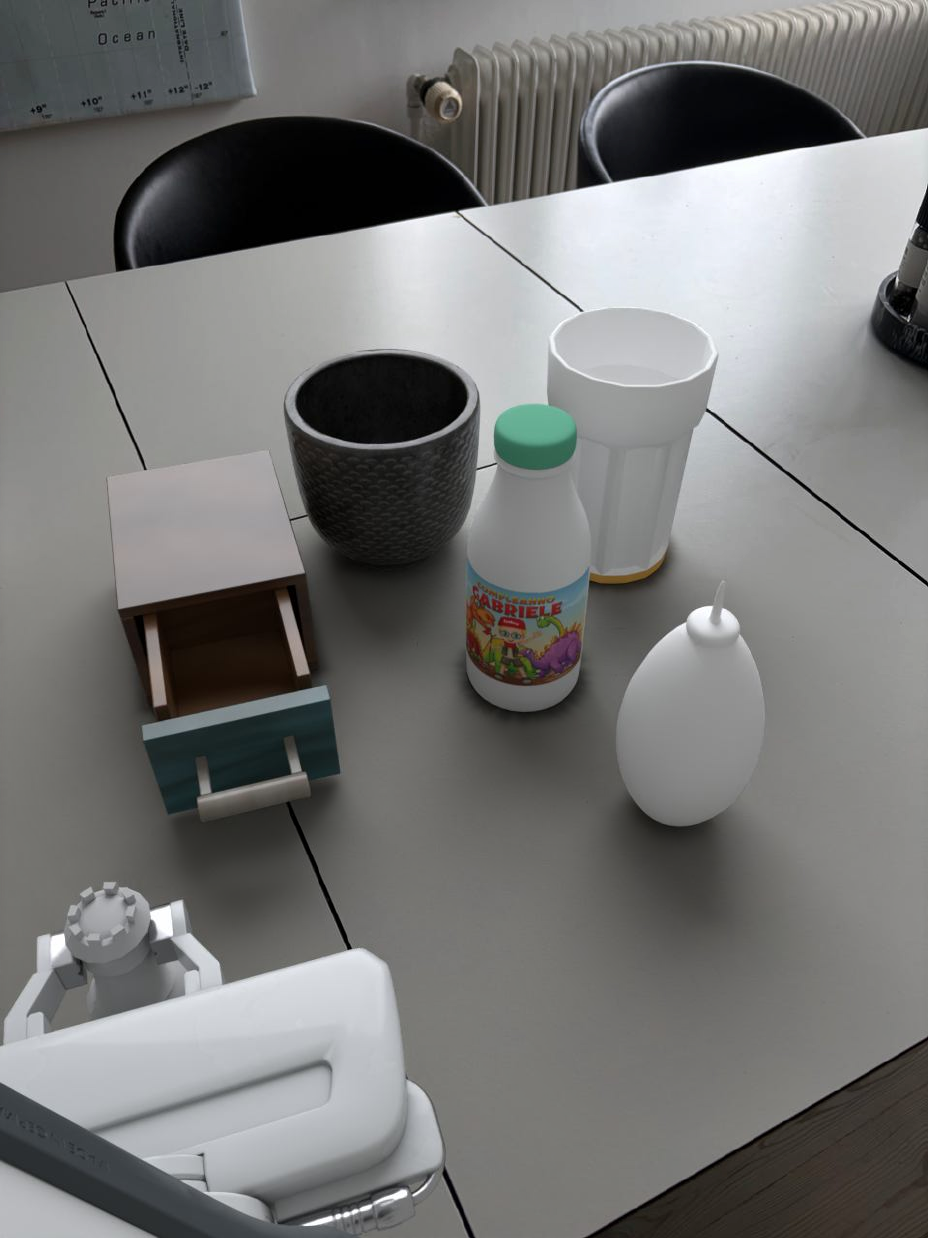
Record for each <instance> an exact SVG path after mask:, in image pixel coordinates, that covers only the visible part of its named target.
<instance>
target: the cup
mask: <svg viewBox="0 0 928 1238" xmlns="http://www.w3.org/2000/svg"><path fill="white" fill-rule="evenodd" d="M547 339H548V341H547V376H546V377H547V379H546V380H547V381H546V396H547V397H546V398H547V405H550V406H553V407H556V408H559V409H561V410H563V411H565V412H566V413H568V414H569V415H570V416H571V417H572V418H573V419H574V421H575V423H576V427H577V441H576V448H575V451H574V452H575V460H574V462H573V464H572V465H571V467H570V473H571V478H572V482H573V485H574V488H575V491H576V493H577V495H578V497H579V500H580V502H581V504H582V506H583V508H584V511H585V513H586V516H587V520H588V523H589V529H590V535H591V563H590V577H589V581H592V582H595V583H598V584H626V583H631V582H635V581H639V580H643V579H646V578H647V577H649V576H650V575H652V574H653V573H654V572H655V571H657V570H658V569H660V567H661V565H662V564H663V562H664V561H665V558H666V556H667V552H668V547H669V543H670V538H671V535H672V530H673V524H674V519H675V516H676V511H677V508H678V507H677V506H678V502H679V498H680V493H681V487H682V483H683V479H684V475H685V470H686V466H687V461H688V457H689V452H690V447H691V444H692V443H691V442H692V438H693V433H694V430H695V428H696V427H699V425H700V423H701V421H702V419H703V417H704V415H705V413H706V411H707V409H708V404H709V399H710V395H711V391H712V387H713V381H714V377H715V373H716V369H717V368H716V367H717V364H718V360H719V352H718V348H717V345H716V343H715V341H714V338H713V336H711V335H710V334H709V333H708V332H707V331H706V330H704V329H703V328H702V327H701V326H700V325H698V324H697V323H696V322H693V321H691V320H689V319H687V318H684V317H681V316H679V315H676V314H674V313H672V312H669V311H662V310H658V309H652V308H648V307H642V306H605V307H601V308H595V309H590V310H584V311H580V312H579V313H576V314H574V315H572V316H570V317H568V318H566V319H565V320H563V321H561V322H560V323H558V325H557V326H556V327H555V329H554V330H553V331H552V333H551V334H550V335H549V336H548V338H547Z"/></svg>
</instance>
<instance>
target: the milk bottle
mask: <svg viewBox="0 0 928 1238" xmlns="http://www.w3.org/2000/svg"><path fill="white" fill-rule="evenodd" d="M576 441H577V427H576V423H575V421H574V419H573V418H572V417H571V416H570V415H569V414H568V413H566V412H565V411H563V410H561V409H559V408H556V407H553V406H550V405H548V404H544V403H526V404H519V405H514V406H513V407H510V408H508V409H506V410H505V411H503V412H501V414H499V415H498V417H497V419H496V421H495V424H494V427H493V459H494V461H495V463H496V465H497V466H496V469H495V473H494V475H493V478H492V481H491V483H490V485H489V487H488V489H487V491H486V492H485V494H484V495H483V497H482V499H481V500H480V502H479V504H478V506H477V508H476V510H475V512H474V515H473V517H472V521H471V524H470V527H469V531H468V532H469V533H468V537H467V538H468V540H467V550H466V579H465V580H466V585H465V590H466V591H465V593H466V594H465V595H466V596H465V619H466V620H465V640H466V641H465V655H466V657H465V658H466V673H467V677H468V680H469V682H470V684H471V686H472V687H473V689H474V690H475V691H476V693H477V694H478V695H479V696H480V697H482V698H483V700H485V701H487V702H488V703H490V704H491V705H493V706H496V707H498V708H500V709H502V710H508V711H511V712H522V713H526V712H537V711H543V710H546V709H548V708H551V707H553V706H555V705H557V704H559V703H560V702H562V701H563V700H564V699H566V697H567V696H569V695H570V693H571V692H572V691H573V690H574V688H575V687H576V684H577V682H578V679H579V674H580V668H581V662H582V652H583V645H584V634H585V626H586V616H587V608H588V598H589V597H588V596H589V586H590V580H589V577H590V563H591V535H590V529H589V523H588V520H587V516H586V513H585V511H584V508H583V506H582V504H581V502H580V500H579V497H578V495H577V493H576V491H575V488H574V485H573V482H572V478H571V473H570V467H571V465H572V464H573V462H574V460H575V452H574V451H575V448H576Z"/></svg>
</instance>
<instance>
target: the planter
mask: <svg viewBox="0 0 928 1238" xmlns="http://www.w3.org/2000/svg"><path fill="white" fill-rule="evenodd" d="M283 416H284V424H285V429H286V436H287V441H288V446H289V452H290V456H291V457H290V458H291V461H292V466H293V471H294V475H295V480H296V485H297V488H298V493H299V496H300V499H301V502H302V505H303V508H304V511H305V513H306V516H307V518H308V520H309V522H310V524H311V526H312V527H313V530H314V531H315V533H317V535H318V536H319V537H320V539H322V541H323V542H324V543H325V544H326V545H328V546H329V547H330V548H331V549H333V550H334V551H336V552H338V553H339V554H341V555H342V556H344V557H347V558H348V559H351V560H352V561H354V562H355V563H357V564H359V565H361V566H364V567H368V568H370V569H376V570H386V571H390V570H401V569H406V568H410V567H413V566H416V565H418V564H420V563H423V562H424V561H426V560H427V559H429V558H430V557H432V555H434V554H435V553H437V552H439V551H440V550H441V549H443V548H445V546H447V545H448V544H449V543H450V542H451V541H452V540H453V539H454V538H456V536H457V535H458V533H459V532H460V531H461V529H462V528H463V526H464V524H465V523H466V520H467V518H468V515H469V512H470V509H471V505H472V501H473V496H474V492H475V486H476V479H477V469H478V458H479V445H480V431H481V430H480V427H481V398H480V392H479V389H478V387H477V384H476V382H475V381H474V379H473V378H472V377H471V376H470V374H468V373H467V372H466V371H465V370H464V369H462V367H459V365H457V364H455V363H453V362H451V361H449V360H448V359H445V358H442V357H440V356H436V355H434V354H430V353H426V352H423V351H422V352H421V351H417V350H409V349H398V348H375V349H364V350H359V351H352V352H347V353H343V354H339V355H336V356H333V357H330V358H328V359H325V360H322V361H321V362H319V363H316V364H314V365H313V366H311V367H309V368H308V369H307V370H306V369H305V371H303V372H302V373H301V374H300V375H299V376H298V377H296V378H295V379H294V380H293V382H292V383H291V384H290V385H289V386H288V389H287V390H286V393H285V394H284V400H283Z"/></svg>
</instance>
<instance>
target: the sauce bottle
mask: <svg viewBox="0 0 928 1238" xmlns="http://www.w3.org/2000/svg"><path fill="white" fill-rule="evenodd" d="M725 595H726V581H725V580H722V581H721V582H720V584H719V586H718V588H717V591H716V594H715V597H714V600H713V605H706V606H702V607H699V608H696V609H695V610H692V612H690V614H689V615H688V617H687V619H686V621H685V622H683V623H682V624H679V625H678V626H675V628H673V629H672V630H670V632H668V633H667V634H666V635H665V636H664V637H662V639H660V640H659V641H657V643H655V645H654V646H653V647H652V649H651V650H649V652H648V654H646V656H645V658H644V659H643V661H641V663H640V665H639V666H638V668H637V669H636V671H635V672H634V674H633V676H632V677H631V679H630V681H629V683H628V685H627V687H626V690H625V692H624V695H623V698H622V702H621V705H620V709H619V711H618V716H617V720H616V726H615V727H616V728H615V753H616V761H617V764H618V768H619V772H620V776H621V778H622V781H623V783H624V785H625V787H626V789H627V791H628V793H629V795H630V796H631V798H632V799H633V801H634V802H635V804H636V805H637V806H638V807H639V808H640V810H642V812H644V814H645V815H646V816H648V817H649V818H651V819H652V820H654V821H656V822H658V823H659V824H663V825H666V826H671V827H690V826H694V825H698V824H701V823H704V822H706V821H708V820H711V819H712V818H714V817H716V816H717V815H719V814H721V813H723V812H724V811H725V810H727V809H728V808H729V807H730V806H731V805H732V804H733V803H734V802H736V800H737V799H738V798H739V797H740V796H741V795H742V794H743V792H744V791H745V789H746V787H748V785H749V783H750V780H751V778H752V777H753V776H754V773H755V771H756V768H757V767H758V763H759V760H760V757H761V753H762V747H763V742H764V736H765V729H766V728H765V726H766V709H765V701H764V699H765V698H764V693H763V688H762V686H763V685H762V681H761V677H760V674H759V673H760V672H759V670H758V667H757V664H756V662H755V659H754V656H753V654H752V652H751V650H750V648H749V646H748V644H747V643H746V641H745V640H744V638H743V636H742V635H741V634H740V633H741V626H740V623H739V621H738V619H737V617H736V616H735V615H734V614H733V613H732V612H731V611H729V610H728V609H726V608H724V601H725Z"/></svg>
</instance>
